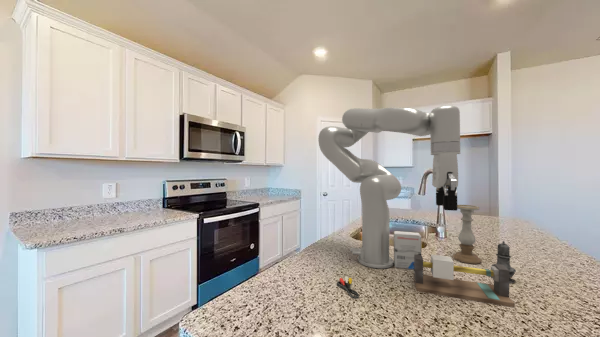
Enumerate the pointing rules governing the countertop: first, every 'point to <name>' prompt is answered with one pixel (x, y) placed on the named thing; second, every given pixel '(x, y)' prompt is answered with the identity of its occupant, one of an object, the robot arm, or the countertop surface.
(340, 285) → the composite cable
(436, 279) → the cord board
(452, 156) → the robot arm
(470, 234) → the candle holder
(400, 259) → the ink box
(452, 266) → the sleeve
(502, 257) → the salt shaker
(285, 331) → the countertop surface
